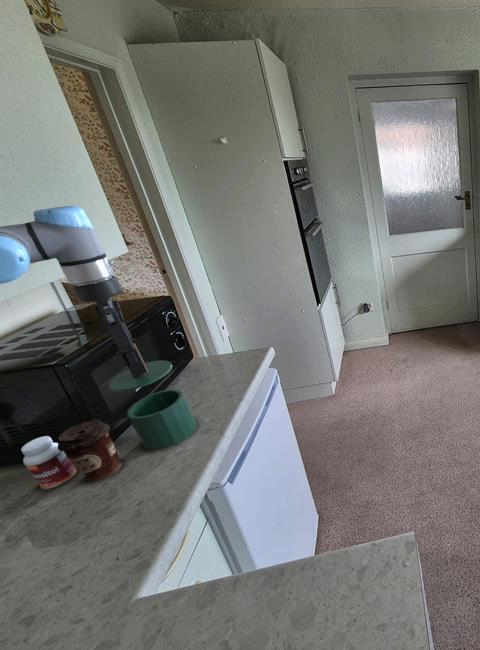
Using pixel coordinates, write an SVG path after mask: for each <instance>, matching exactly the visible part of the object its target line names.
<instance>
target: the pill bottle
mask: <svg viewBox="0 0 480 650" xmlns="http://www.w3.org/2000/svg"><path fill="white" fill-rule="evenodd" d="M58 443H59V442H54V441H53V439H52V437H50V436H49V435H45V436H43V435H42V436H40V437H37V438H35V439H32V440H31V441H28V442H27V443H25V444H24V445H23V446H22V447H21V449H20V451H21V453H22V454H23V455H24V457H23V459H22V462H23V464H24V466H25V467H26V469H27V470H28V471H29V472H30V474H31V476H32V478H33V479H34V480H35V481H36V483H37V484H38V485H39V487H40V488H41V489H42V490H49V489H53V488H55V487H58V486H60V485H61V484H64V483H66V482H67V481H69V480H70V479H71V478H72V477H73V476H74V475H76V473H77V467H76V466H75V465H74V464H72V462H71V461H70V460H69V459H68V458H67V456H66V454H65V453H64V452H63V451H59V450H58Z"/></svg>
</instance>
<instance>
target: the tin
mask: <svg viewBox="0 0 480 650" xmlns="http://www.w3.org/2000/svg"><path fill="white" fill-rule="evenodd" d="M127 418H128V420H129V421H130V423H131V425H132V427H133V429H134V431H135V432H136V434H137V436H138V438H139V440H140V442H141V444H142V445H143V447H144V448H145V449H146V450H149V451H157V450H162V449H163V450H164V449H166V448H170V447H172V446H174V445H177V444H178V443H180V442H182V441H183V440H185V439H186V438H188V437H189V436H190V435H192V434H193V433H194V431H196V428H197V423H196V420H195V418H194V416H193V413H192V411H191V409H190V406H189V404H188V402H187V400H186V398H185V395H184V394H183V392H182V391H181V390H179V389H165V390H161V391H157V392H156V393H155V392H154V393H151V394H149V395H146V396H145V397H143V398H140V400H137V402H135V403H133V404H132V405H131V406H130V408H129V409H128V410H127Z"/></svg>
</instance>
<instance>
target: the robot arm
mask: <svg viewBox="0 0 480 650" xmlns="http://www.w3.org/2000/svg"><path fill="white" fill-rule="evenodd" d="M32 214H33V216H34V218H33V219H34V221H33V220H32V221H30V222H29V221H27V222H25V223H19V224H17V223H16V224H9V225H2V226H0V285H1V284H3V285H4V284H7V283H10V282H13V281H15V280H17V279H19V278H20V277H22V275H23V274H25V273H26V272H27V271H28V269H29V267H30V266H31V264H34V263H40V262H44V261H50V260H52V259H53V260H54V259H56V261H57V262H58V264H59V267H60V269H61V271H62V273H63V275H64V276H65V278H66V281H67V283H68V284H70V285H72V287H71V288H72V291H73V292H74V295H75V296H76V298H77V300H78V301H79V302H81V303H87V304H88V303H89V304H90V303H96V305H94V310H95V313H96V316H98V317H99V318H100V320H101V321H102V324H103V325H104V327H106V328H107V330H108V332H109V334H110V336H111V338H112V340H113V342H114V343H115V345H116V347H117V349H118V351H116V355H117V356H120V355H121V356H122V359H123V360H124V362H125V364H126V366H127V368H128V369H129V370H130V372H131V374H132V376H133V377H136V376H139V375H141V374H144V373H147V370H146V368H145V366H144V364H143V362H142V360H141V358H140V356H139V354H138V352H137V350H136V348H135V347H134V346H133V344H132V342H134V343H135V342H136V343H137V342H138V340H137V338H136V337H133V338H132V334H131V332H130V331H129V329H128V327H127V325H126V323H125V320H124V314H123V313H122V310H121V306H120V304H119V301H118V300H114V299H113V297H116V296H118V295H120V294H122V292H123V287H122V285H121V284H120V281H119V279H118V277H117V276H115V275H114V274H115V271H114V269H113V267H112V265H114V264H115V263H114V261H113V260H108V256H107V254H106V252H105V250H104V248H103V246H102V243H101V241H100V239H99V237H98V235H97V233H96V230H95V229H94V226H93V223H92V222H91V221H90V219H89V217H88V215H87V213H86V211H85V210H84V208H82V207H80V206H77V205H65V206H64V205H63V206H55V207H50V208H49V207H48V208H42V209H37V210H35V211H33V213H32Z"/></svg>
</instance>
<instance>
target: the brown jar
mask: <svg viewBox="0 0 480 650" xmlns="http://www.w3.org/2000/svg"><path fill="white" fill-rule="evenodd" d="M110 434H111V433H110V425H109V424H108V423H105V422H102V421H101V420H99V419H93V420H89V421H85V422H82V423H80V424H76V425H75V426H72V427H70V428H68V429H66V430H65V431H63V432H62V433H61V434H60V435H59V437H58V438H57V439H58V442H57V443H58V450H59V451H63V452H64V453H65V454H66V456H67V458H68V459H69V460H70V461H71V462H72V464H73V465H74V467H75V468H76V470H77V471H79V472H80V473H81V474H83V475H84V476H85V477H86V480H87V481H88V482H90V483H95V482H99V481H103V480H105V479H107V478H109V477H110V476H112V475H115V473H117V472H119V470H120V468H121V467H122V462H121V461H120V458H119V455H118V451H117V449H116V447H115V443H114V440H113V438H112V437H111V435H110Z"/></svg>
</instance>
